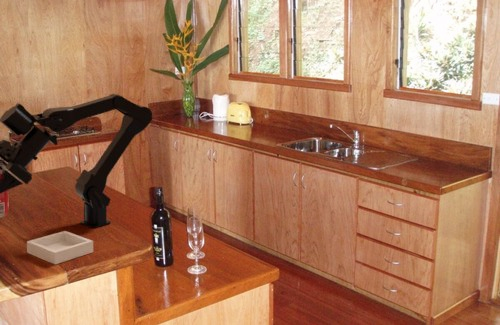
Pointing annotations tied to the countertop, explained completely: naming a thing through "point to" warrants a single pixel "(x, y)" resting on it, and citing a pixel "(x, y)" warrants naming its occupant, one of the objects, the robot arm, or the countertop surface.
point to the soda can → (3, 201)
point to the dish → (59, 247)
